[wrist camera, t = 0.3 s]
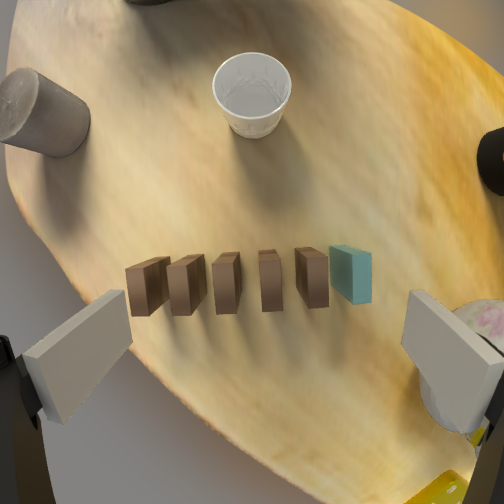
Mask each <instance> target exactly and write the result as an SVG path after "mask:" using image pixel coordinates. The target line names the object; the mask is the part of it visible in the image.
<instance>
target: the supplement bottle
mask: <svg viewBox="0 0 504 504" xmlns="http://www.w3.org/2000/svg"><path fill="white" fill-rule="evenodd" d="M484 432H485V429H484V428H483V426H481V427H479V428H478V429H477V430H474V431H471V432H468V433H467V434H466V438H467V439H468V441H469V442H470V443H471V444H472V445H473V446H474V448H475V447H476V446H477V445H478V443H479V441H480V440H481V438H482V436H483V434H484Z"/></svg>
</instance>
